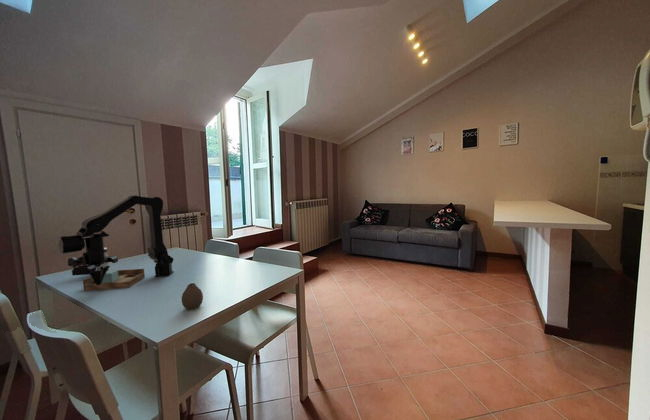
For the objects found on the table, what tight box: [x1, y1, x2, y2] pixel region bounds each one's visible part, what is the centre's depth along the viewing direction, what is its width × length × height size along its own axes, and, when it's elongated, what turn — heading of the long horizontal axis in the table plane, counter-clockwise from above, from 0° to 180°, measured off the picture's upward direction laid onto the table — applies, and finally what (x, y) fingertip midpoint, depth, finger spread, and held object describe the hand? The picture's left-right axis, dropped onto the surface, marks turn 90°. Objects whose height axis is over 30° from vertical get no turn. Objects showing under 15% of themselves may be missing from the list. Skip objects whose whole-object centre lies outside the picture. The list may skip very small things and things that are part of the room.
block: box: [101, 269, 119, 283], centre depth 118 cm, size 4×4×4 cm
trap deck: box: [82, 268, 146, 291], centre depth 121 cm, size 18×13×4 cm
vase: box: [181, 283, 204, 311], centre depth 95 cm, size 7×7×9 cm
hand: (98, 284), depth 110 cm, fingers closed
